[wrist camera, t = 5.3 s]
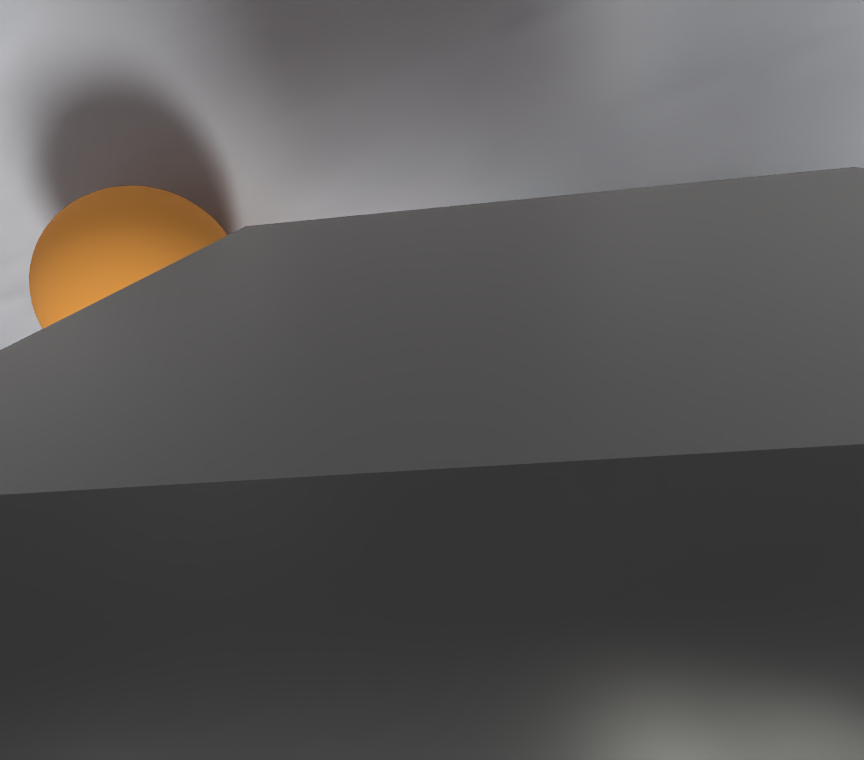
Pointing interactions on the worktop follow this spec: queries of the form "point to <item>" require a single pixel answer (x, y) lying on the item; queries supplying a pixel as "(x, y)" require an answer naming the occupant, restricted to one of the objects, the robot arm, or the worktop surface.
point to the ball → (112, 246)
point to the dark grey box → (452, 489)
